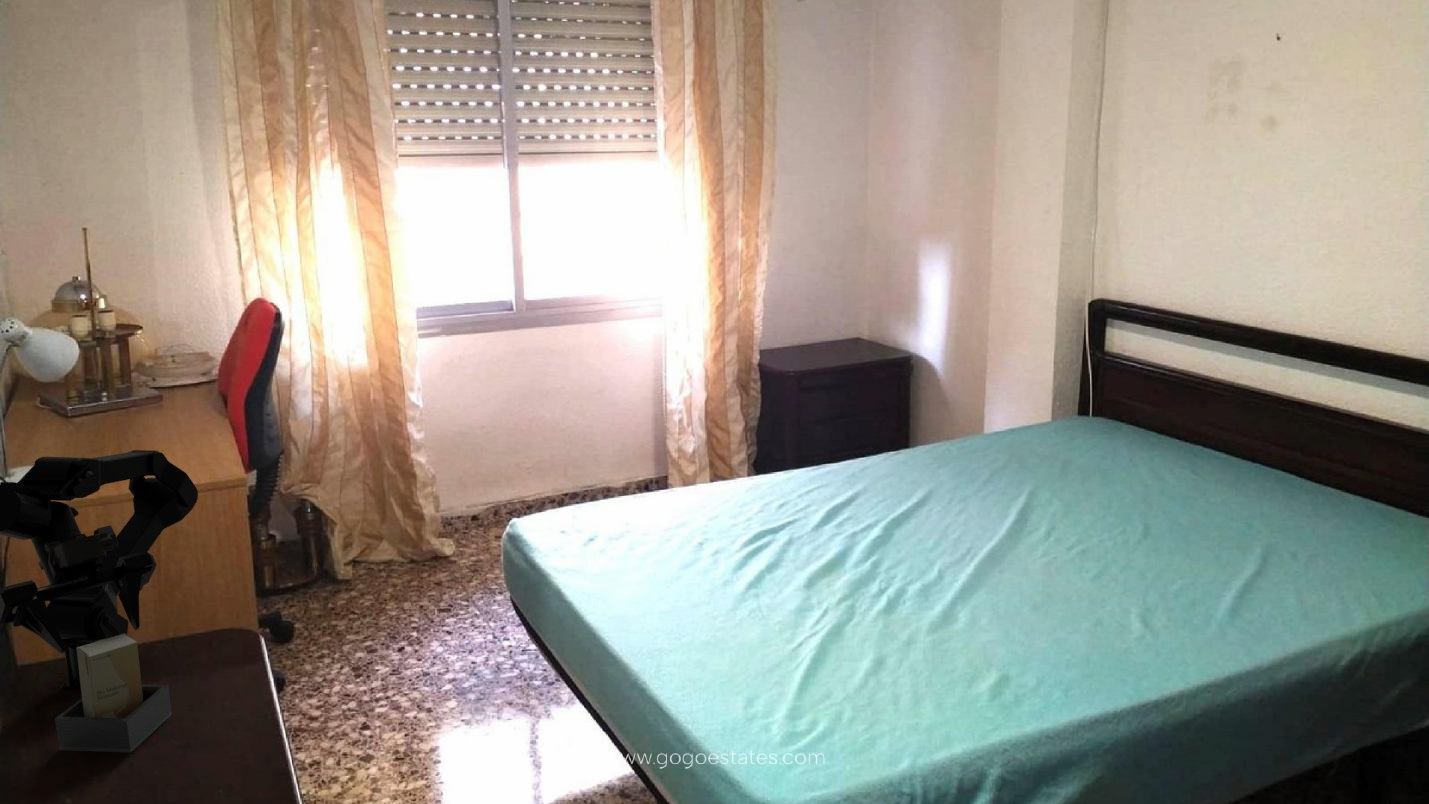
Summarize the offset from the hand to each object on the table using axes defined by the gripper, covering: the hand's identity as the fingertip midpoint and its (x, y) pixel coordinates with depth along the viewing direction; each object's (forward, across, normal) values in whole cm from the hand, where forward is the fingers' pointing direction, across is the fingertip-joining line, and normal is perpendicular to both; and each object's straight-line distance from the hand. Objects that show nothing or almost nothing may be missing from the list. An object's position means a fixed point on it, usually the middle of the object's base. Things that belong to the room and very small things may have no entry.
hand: (101, 639), depth 142 cm
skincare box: (+10, 0, +7) cm, 13 cm away
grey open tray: (+10, 0, +7) cm, 13 cm away
